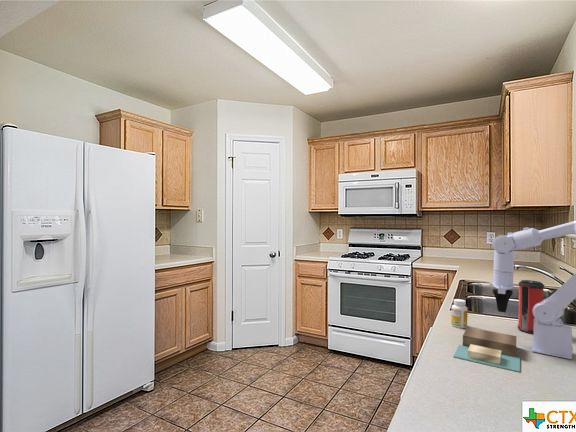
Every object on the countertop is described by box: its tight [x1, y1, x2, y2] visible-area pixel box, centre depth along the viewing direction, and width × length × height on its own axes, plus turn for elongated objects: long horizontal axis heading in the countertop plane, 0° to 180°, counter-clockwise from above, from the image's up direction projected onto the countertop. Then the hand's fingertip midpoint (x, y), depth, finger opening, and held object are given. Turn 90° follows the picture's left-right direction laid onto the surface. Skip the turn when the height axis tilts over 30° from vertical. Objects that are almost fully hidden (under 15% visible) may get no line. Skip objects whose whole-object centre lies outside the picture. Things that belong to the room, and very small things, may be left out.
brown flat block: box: [462, 326, 518, 357], centre depth 109 cm, size 14×10×4 cm
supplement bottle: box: [450, 298, 468, 329], centre depth 129 cm, size 5×5×10 cm
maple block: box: [468, 344, 502, 365], centre depth 99 cm, size 8×6×2 cm
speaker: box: [517, 279, 546, 335], centre depth 125 cm, size 8×8×18 cm
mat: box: [453, 344, 521, 373], centre depth 100 cm, size 16×11×1 cm
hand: (501, 311), depth 115 cm, fingers closed
